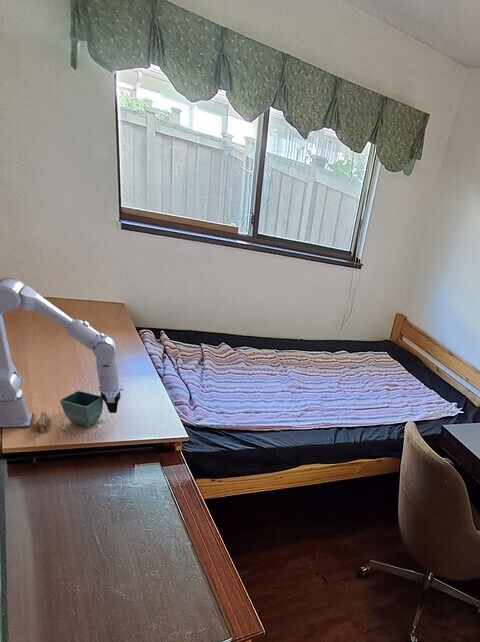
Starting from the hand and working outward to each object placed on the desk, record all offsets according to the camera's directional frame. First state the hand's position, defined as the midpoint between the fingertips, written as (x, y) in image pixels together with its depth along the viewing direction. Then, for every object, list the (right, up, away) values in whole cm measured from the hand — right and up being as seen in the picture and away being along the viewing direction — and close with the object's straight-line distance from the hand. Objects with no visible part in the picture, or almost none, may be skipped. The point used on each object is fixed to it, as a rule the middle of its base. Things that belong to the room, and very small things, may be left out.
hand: (113, 412), depth 153 cm
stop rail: (-17, -6, -8) cm, 20 cm away
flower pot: (-8, -4, -2) cm, 9 cm away
